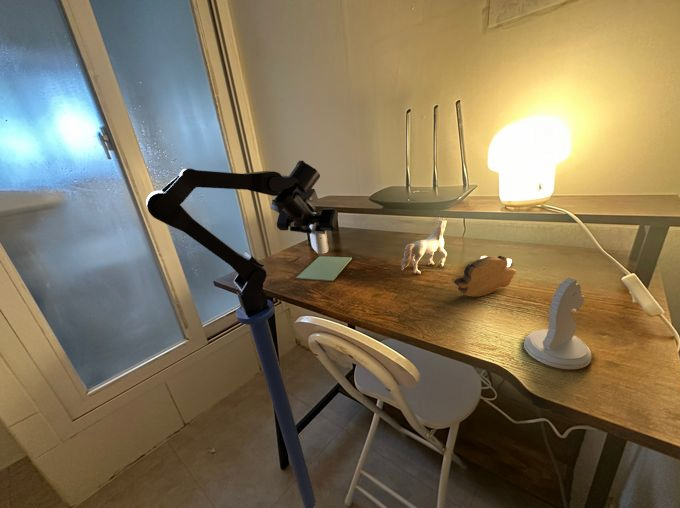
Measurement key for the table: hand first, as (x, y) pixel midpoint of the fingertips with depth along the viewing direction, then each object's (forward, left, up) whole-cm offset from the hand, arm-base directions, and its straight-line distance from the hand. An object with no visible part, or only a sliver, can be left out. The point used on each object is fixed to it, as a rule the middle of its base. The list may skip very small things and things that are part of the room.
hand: (317, 232), depth 96 cm
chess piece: (+6, -65, -13) cm, 67 cm away
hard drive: (+30, -40, -13) cm, 52 cm away
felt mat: (+1, +1, -13) cm, 13 cm away
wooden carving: (+17, -45, -13) cm, 50 cm away
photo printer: (+1, +3, -7) cm, 8 cm away
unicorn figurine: (+22, -23, -13) cm, 35 cm away
